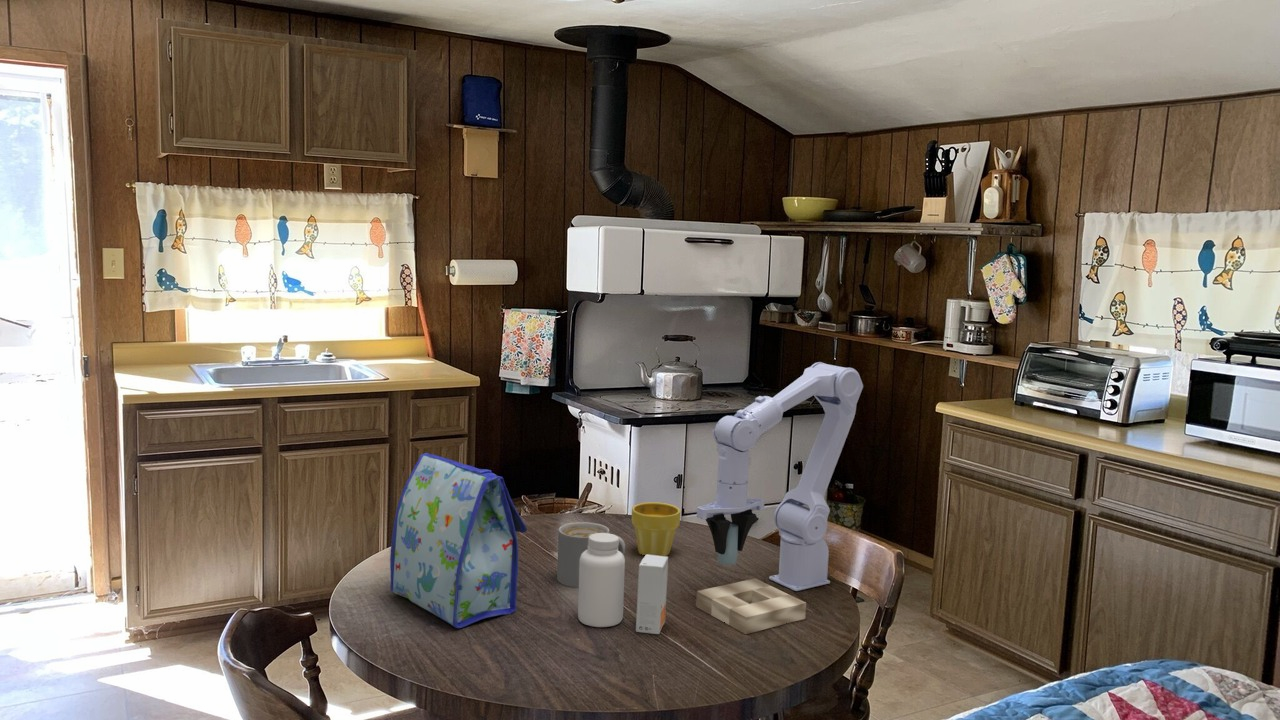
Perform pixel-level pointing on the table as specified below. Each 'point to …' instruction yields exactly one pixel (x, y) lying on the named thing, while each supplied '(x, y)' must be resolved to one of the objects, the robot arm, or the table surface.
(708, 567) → the table surface
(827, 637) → the table surface
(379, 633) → the table surface
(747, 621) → the socket block
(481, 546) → the lunch bag
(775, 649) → the table surface
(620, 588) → the pill bottle
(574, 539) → the coffee mug
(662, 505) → the plant pot
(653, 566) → the skincare box
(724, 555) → the peg
